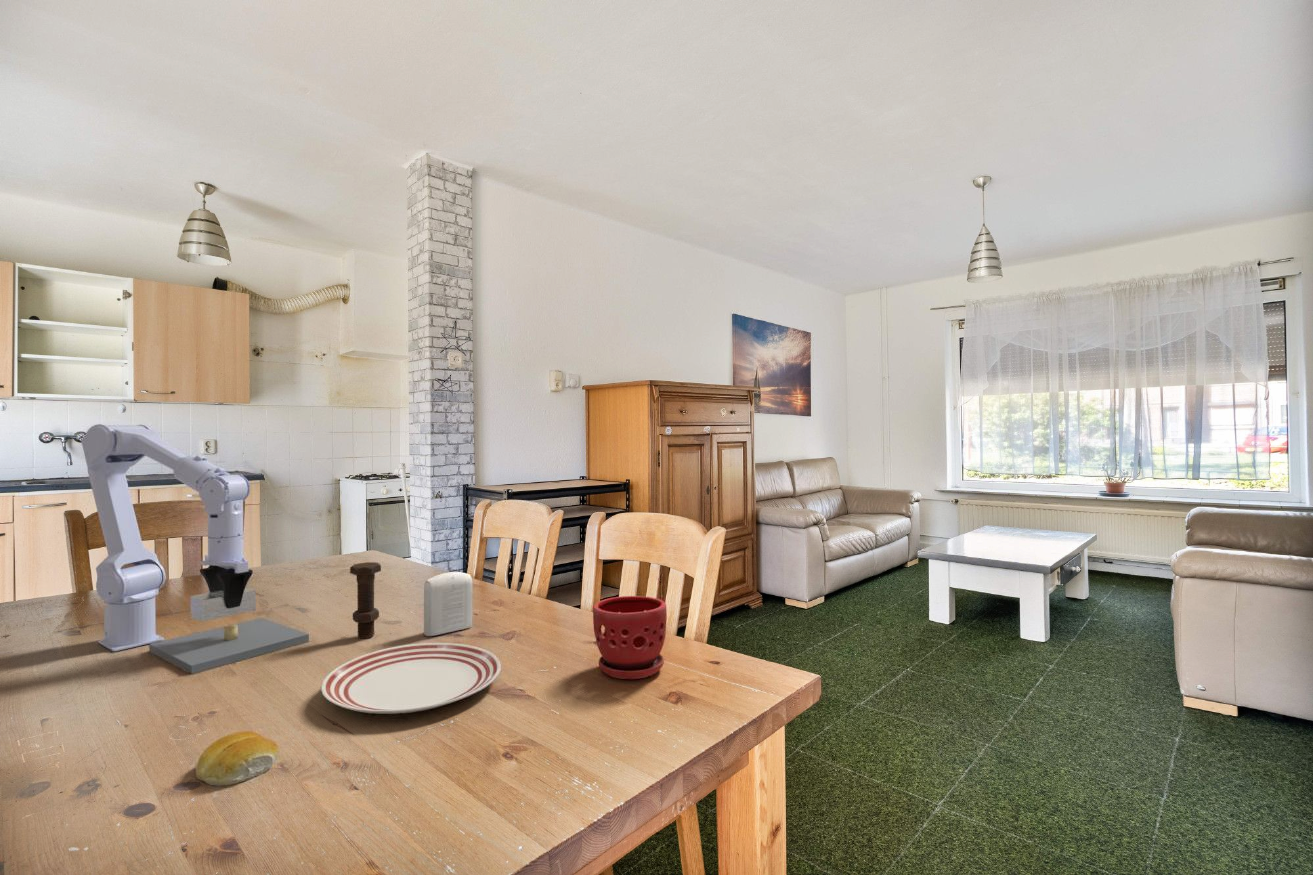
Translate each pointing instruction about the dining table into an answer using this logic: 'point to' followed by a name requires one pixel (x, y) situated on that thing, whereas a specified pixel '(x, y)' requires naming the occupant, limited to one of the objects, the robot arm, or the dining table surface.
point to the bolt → (365, 597)
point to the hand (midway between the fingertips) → (226, 604)
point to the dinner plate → (410, 678)
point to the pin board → (227, 644)
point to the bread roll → (236, 758)
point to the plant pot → (630, 635)
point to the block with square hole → (220, 605)
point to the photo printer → (447, 603)
